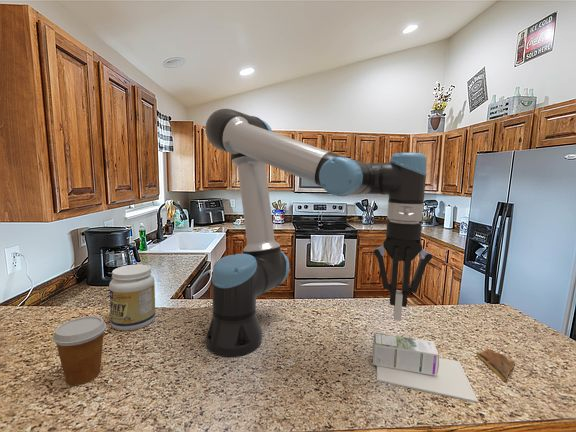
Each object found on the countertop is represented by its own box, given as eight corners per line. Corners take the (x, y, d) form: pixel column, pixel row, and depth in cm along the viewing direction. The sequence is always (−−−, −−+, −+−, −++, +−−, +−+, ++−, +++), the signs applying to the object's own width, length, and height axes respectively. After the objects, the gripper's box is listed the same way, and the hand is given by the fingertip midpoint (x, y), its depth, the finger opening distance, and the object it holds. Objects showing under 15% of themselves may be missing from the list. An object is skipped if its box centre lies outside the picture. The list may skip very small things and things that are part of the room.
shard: (505, 384, 66) (505, 377, 65) (467, 368, 71) (468, 361, 71) (516, 366, 73) (516, 359, 72) (481, 352, 78) (481, 345, 78)
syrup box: (372, 365, 70) (437, 378, 66) (374, 343, 69) (440, 354, 65) (372, 351, 75) (432, 362, 72) (373, 331, 74) (434, 340, 71)
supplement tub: (101, 326, 85) (98, 271, 83) (136, 310, 96) (134, 261, 94) (130, 336, 81) (128, 278, 79) (164, 317, 92) (162, 266, 90)
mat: (376, 381, 65) (377, 379, 65) (376, 347, 78) (376, 346, 78) (477, 403, 59) (478, 401, 59) (459, 362, 72) (459, 361, 72)
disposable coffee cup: (68, 398, 58) (63, 342, 56) (48, 379, 63) (44, 328, 61) (116, 372, 66) (114, 322, 64) (96, 357, 71) (93, 311, 69)
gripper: (374, 221, 64) (368, 320, 67) (438, 225, 61) (429, 330, 63) (374, 217, 72) (369, 307, 74) (432, 221, 68) (424, 315, 71)
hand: (397, 318), depth 69 cm, fingers closed
